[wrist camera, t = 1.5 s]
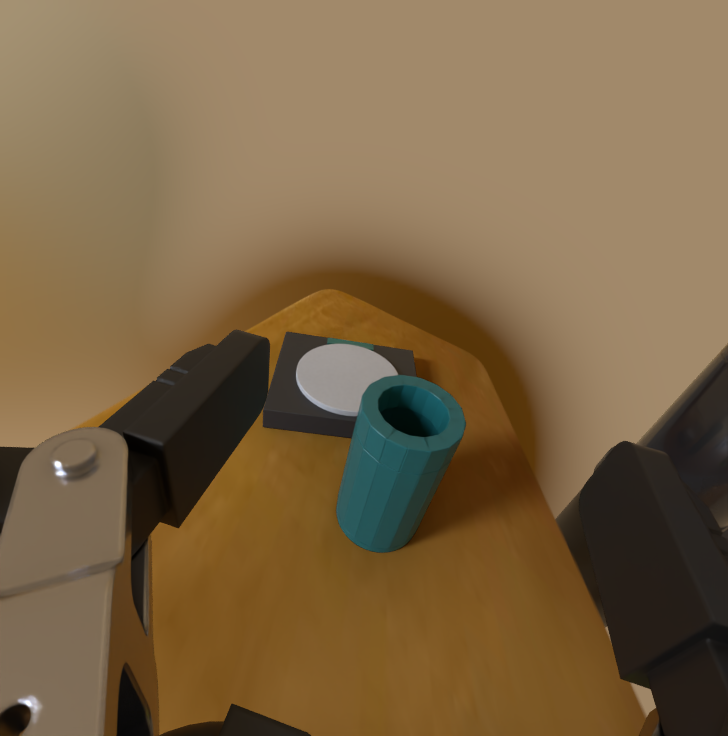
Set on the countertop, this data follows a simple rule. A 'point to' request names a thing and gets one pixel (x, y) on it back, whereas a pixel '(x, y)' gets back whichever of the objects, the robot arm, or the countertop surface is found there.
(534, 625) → the countertop surface
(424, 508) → the jar
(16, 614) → the robot arm
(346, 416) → the scale
